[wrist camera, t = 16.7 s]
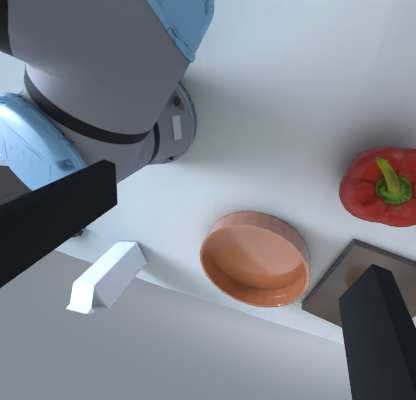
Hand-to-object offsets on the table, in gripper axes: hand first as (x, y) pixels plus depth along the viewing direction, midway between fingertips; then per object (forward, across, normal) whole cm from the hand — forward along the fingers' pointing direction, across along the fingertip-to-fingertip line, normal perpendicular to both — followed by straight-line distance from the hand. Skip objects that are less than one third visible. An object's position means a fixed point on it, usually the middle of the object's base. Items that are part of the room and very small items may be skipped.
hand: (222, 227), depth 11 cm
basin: (+27, +5, -26) cm, 38 cm away
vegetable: (+27, +15, -2) cm, 31 cm away
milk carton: (+27, -25, -43) cm, 57 cm away
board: (+27, +26, -24) cm, 44 cm away
